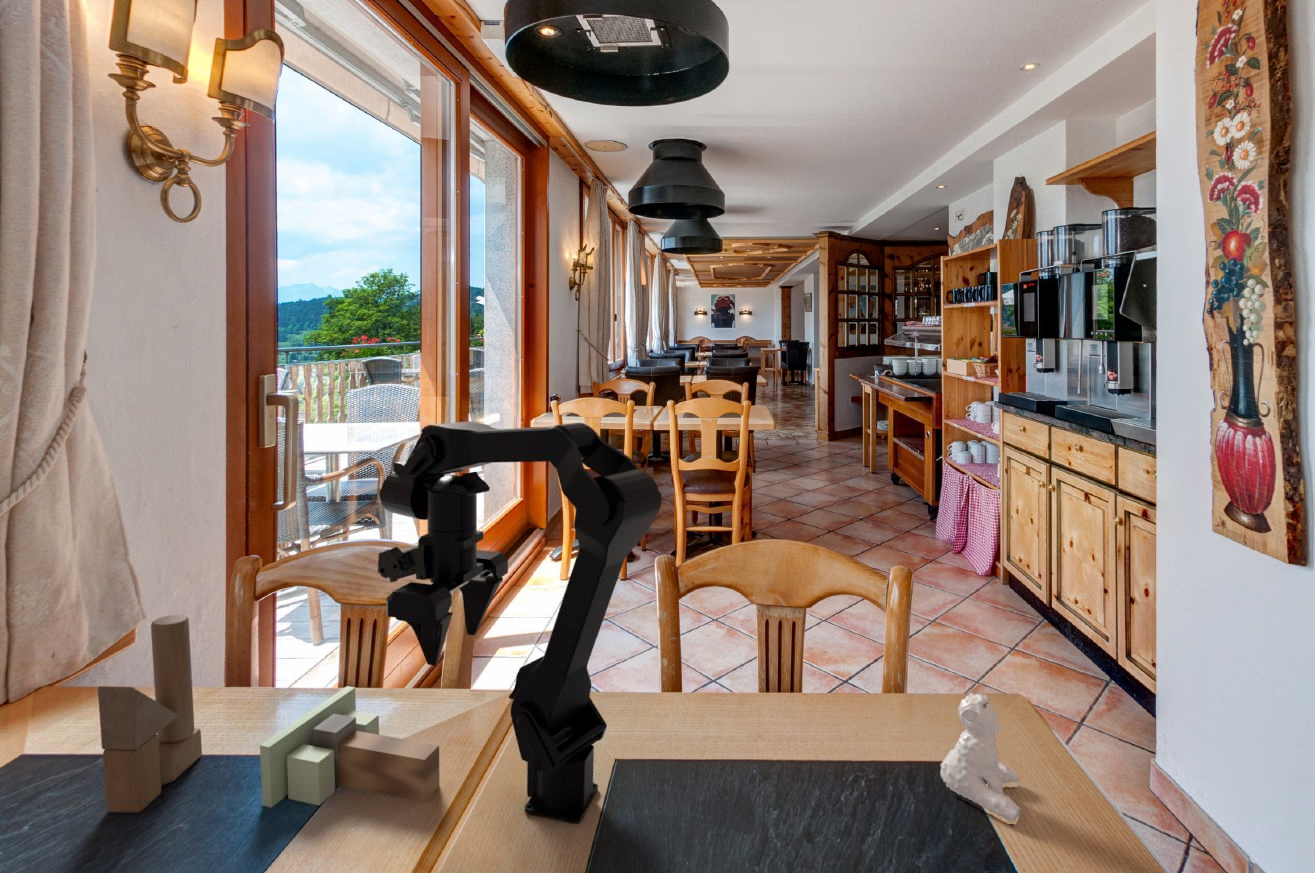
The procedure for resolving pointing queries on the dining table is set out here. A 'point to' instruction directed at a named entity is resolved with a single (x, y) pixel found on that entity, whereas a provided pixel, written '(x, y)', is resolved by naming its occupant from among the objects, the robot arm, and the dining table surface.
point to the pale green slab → (307, 754)
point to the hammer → (379, 760)
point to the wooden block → (150, 723)
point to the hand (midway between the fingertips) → (452, 648)
